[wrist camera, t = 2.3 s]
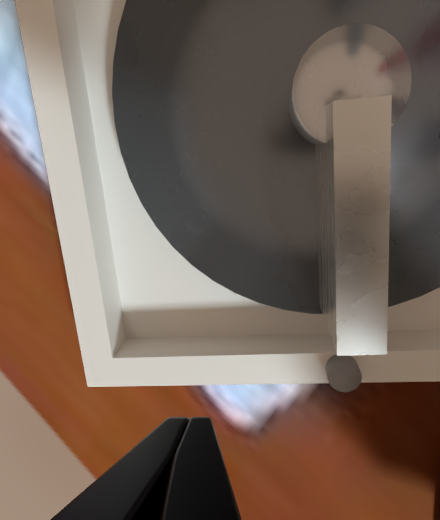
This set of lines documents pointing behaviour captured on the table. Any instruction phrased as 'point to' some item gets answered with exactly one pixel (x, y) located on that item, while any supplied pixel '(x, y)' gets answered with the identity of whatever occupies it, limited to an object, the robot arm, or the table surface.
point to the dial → (290, 149)
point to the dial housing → (167, 248)
